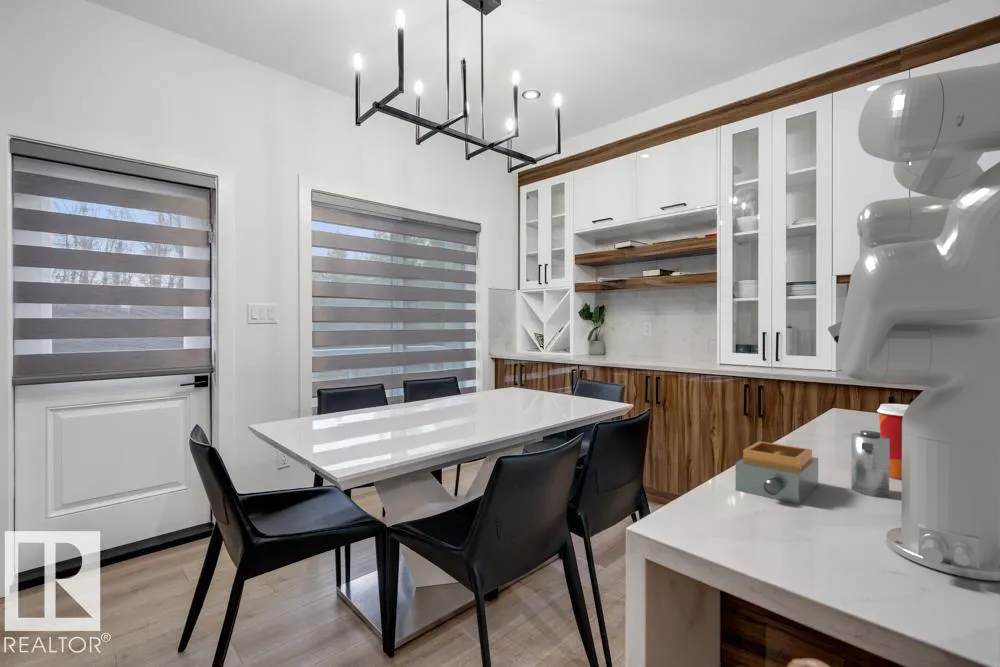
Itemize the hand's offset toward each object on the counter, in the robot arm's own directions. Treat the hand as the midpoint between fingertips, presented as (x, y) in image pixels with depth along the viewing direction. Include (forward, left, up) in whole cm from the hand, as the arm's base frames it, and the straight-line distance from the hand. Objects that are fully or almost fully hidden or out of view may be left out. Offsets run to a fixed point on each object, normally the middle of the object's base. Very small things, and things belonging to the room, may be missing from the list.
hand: (885, 372), depth 86 cm
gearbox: (-13, +14, -21) cm, 29 cm away
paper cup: (+12, -1, -22) cm, 25 cm away
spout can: (-3, +2, -22) cm, 22 cm away
